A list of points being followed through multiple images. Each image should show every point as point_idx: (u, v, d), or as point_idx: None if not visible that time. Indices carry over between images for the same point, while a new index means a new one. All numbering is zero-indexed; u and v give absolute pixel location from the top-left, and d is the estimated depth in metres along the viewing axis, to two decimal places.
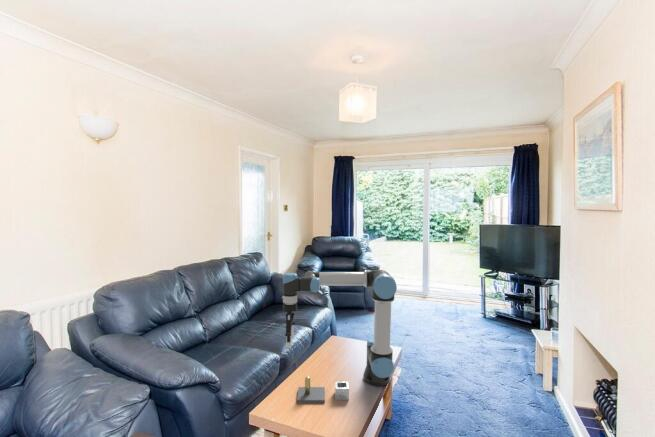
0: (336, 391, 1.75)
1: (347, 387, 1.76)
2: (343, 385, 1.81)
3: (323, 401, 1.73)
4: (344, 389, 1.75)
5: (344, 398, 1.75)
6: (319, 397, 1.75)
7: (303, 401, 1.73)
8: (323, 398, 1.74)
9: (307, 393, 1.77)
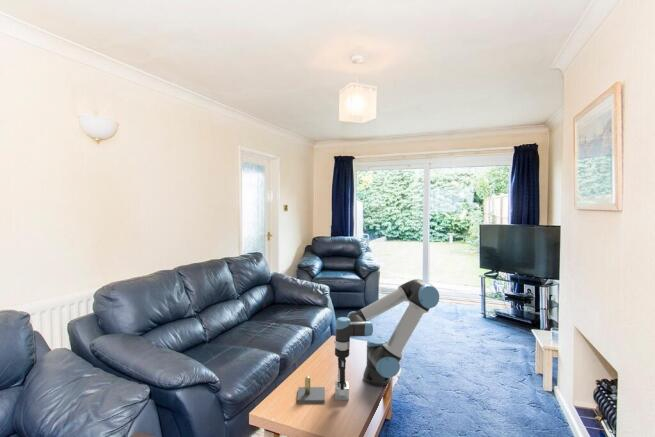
0: (336, 391, 1.75)
1: (347, 387, 1.76)
2: None
3: (323, 401, 1.73)
4: None
5: (344, 398, 1.75)
6: (319, 397, 1.75)
7: (303, 401, 1.73)
8: (323, 398, 1.74)
9: (307, 393, 1.77)
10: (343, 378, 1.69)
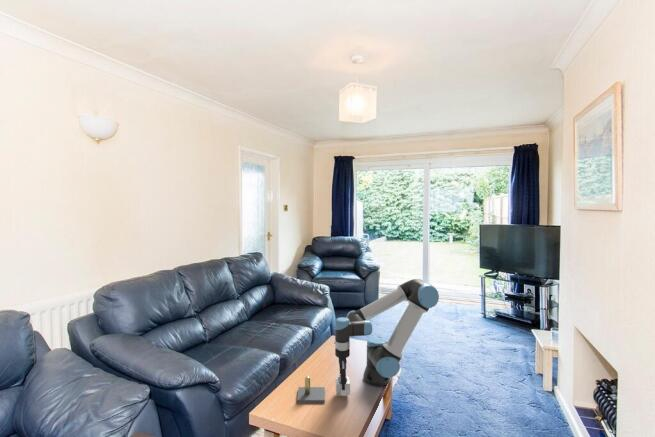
0: (337, 386, 1.75)
1: (348, 382, 1.76)
2: None
3: (323, 401, 1.73)
4: None
5: None
6: (319, 397, 1.75)
7: (303, 401, 1.73)
8: (323, 398, 1.74)
9: (307, 393, 1.77)
10: (344, 379, 1.71)
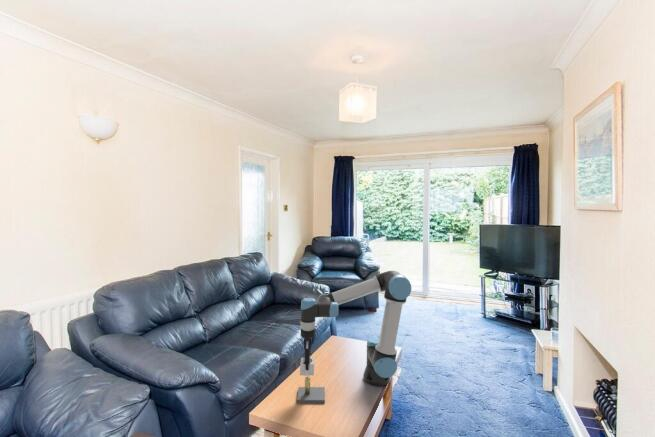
0: (301, 366, 1.74)
1: (312, 363, 1.75)
2: None
3: (323, 401, 1.73)
4: None
5: None
6: (319, 397, 1.75)
7: (303, 401, 1.73)
8: (323, 398, 1.74)
9: (307, 393, 1.77)
10: (307, 359, 1.70)
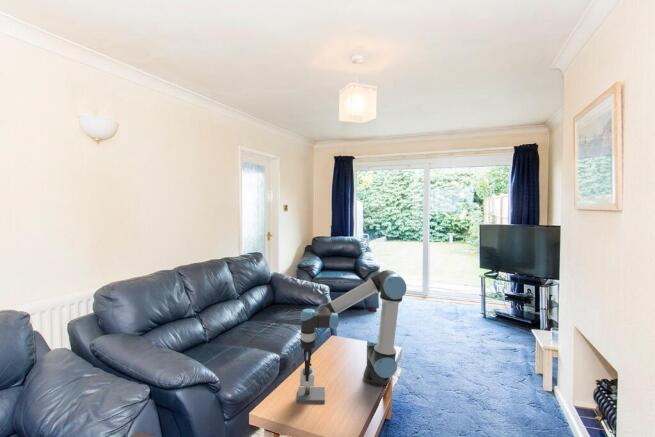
0: (301, 377, 1.74)
1: (312, 374, 1.76)
2: None
3: (323, 401, 1.73)
4: None
5: None
6: (319, 397, 1.75)
7: (303, 401, 1.73)
8: (323, 398, 1.74)
9: (307, 393, 1.77)
10: (307, 370, 1.71)
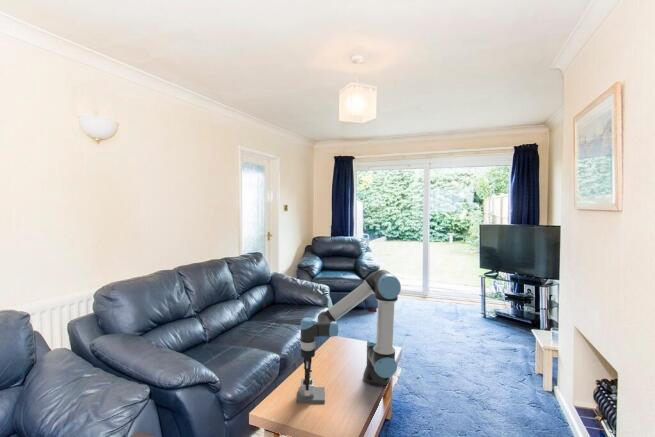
0: (301, 388, 1.75)
1: (312, 384, 1.76)
2: None
3: (323, 401, 1.73)
4: None
5: None
6: (319, 397, 1.75)
7: (303, 401, 1.73)
8: (323, 398, 1.74)
9: None
10: (307, 379, 1.70)
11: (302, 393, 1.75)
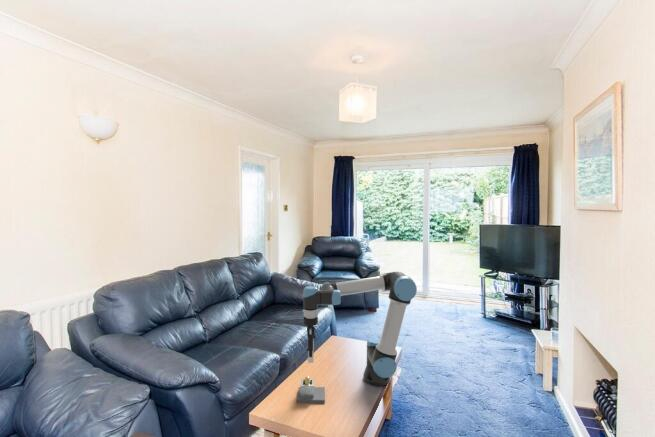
0: (301, 388, 1.75)
1: (312, 384, 1.76)
2: None
3: (323, 401, 1.73)
4: (309, 386, 1.75)
5: (309, 395, 1.75)
6: (319, 397, 1.75)
7: (303, 401, 1.73)
8: (323, 398, 1.74)
9: None
10: (311, 345, 1.69)
11: (302, 393, 1.75)
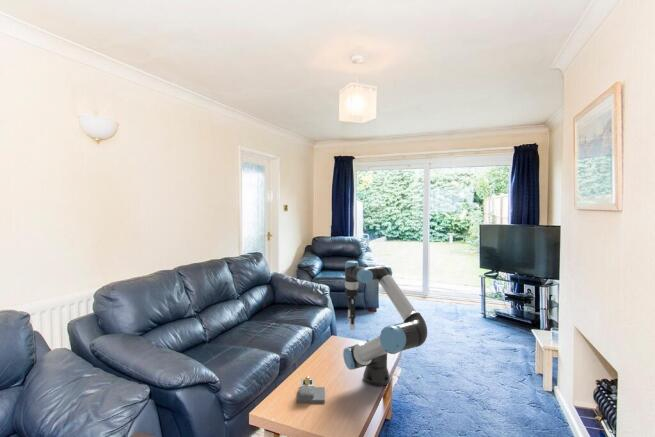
0: (301, 388, 1.75)
1: (312, 384, 1.76)
2: None
3: (323, 401, 1.73)
4: (309, 386, 1.75)
5: (309, 395, 1.75)
6: (319, 397, 1.75)
7: (303, 401, 1.73)
8: (323, 398, 1.74)
9: None
10: (353, 313, 1.84)
11: (302, 393, 1.75)
